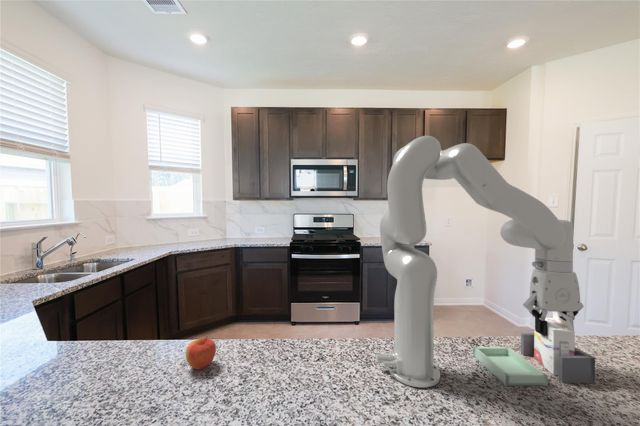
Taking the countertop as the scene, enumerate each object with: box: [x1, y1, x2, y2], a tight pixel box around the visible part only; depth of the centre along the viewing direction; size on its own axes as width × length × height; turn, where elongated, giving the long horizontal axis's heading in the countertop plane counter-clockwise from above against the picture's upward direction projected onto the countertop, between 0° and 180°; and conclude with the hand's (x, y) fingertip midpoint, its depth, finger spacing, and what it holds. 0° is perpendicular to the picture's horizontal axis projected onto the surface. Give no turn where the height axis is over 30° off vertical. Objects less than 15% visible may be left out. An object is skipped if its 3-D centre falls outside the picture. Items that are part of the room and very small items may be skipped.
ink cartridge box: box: [533, 312, 576, 376], centre depth 70 cm, size 9×5×15 cm, turn 168°
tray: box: [472, 346, 548, 387], centre depth 69 cm, size 10×13×2 cm
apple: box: [185, 336, 217, 371], centre depth 70 cm, size 7×7×8 cm
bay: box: [520, 332, 596, 384], centre depth 70 cm, size 8×13×6 cm, turn 0°
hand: (553, 332), depth 70 cm, fingers closed on ink cartridge box, 5 cm apart
